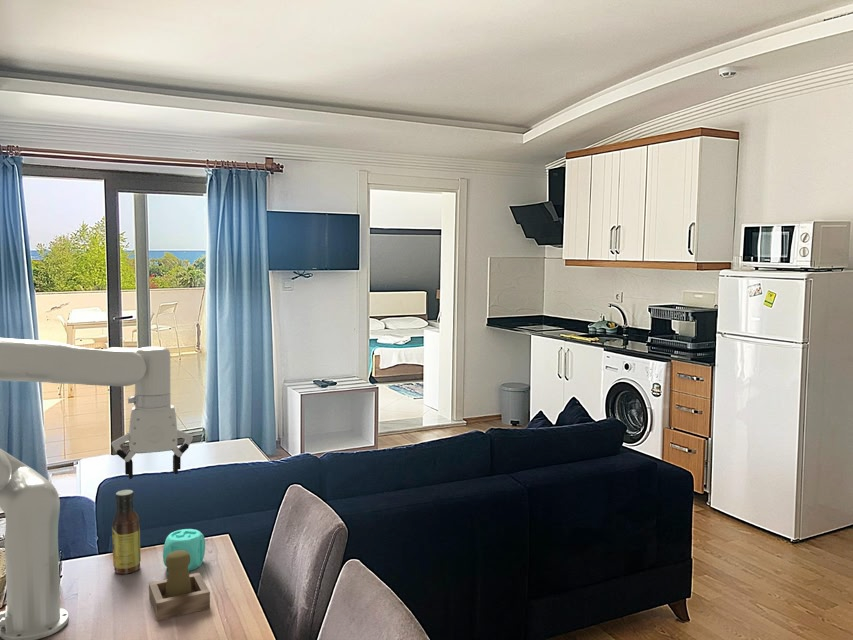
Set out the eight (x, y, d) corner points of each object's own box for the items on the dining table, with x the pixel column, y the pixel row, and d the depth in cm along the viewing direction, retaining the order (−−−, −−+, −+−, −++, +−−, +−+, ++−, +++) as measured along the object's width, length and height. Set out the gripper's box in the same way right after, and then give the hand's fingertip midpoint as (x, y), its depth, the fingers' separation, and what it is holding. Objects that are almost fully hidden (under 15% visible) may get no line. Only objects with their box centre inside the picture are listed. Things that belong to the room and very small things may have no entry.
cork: (183, 608, 151) (182, 559, 150) (158, 605, 152) (157, 556, 151) (198, 595, 157) (197, 548, 156) (173, 592, 158) (173, 545, 157)
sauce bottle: (121, 564, 175) (119, 486, 173) (145, 564, 175) (143, 487, 173) (108, 575, 168) (105, 495, 167) (133, 576, 168) (131, 496, 167)
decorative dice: (195, 572, 170) (195, 541, 170) (162, 572, 170) (162, 540, 170) (205, 559, 178) (205, 528, 178) (174, 558, 178) (174, 528, 178)
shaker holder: (156, 620, 147) (156, 603, 147) (149, 599, 157) (148, 582, 156) (210, 608, 153) (209, 591, 152) (199, 588, 162) (199, 572, 162)
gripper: (112, 406, 151) (112, 484, 152) (195, 401, 159) (195, 475, 160) (110, 400, 157) (111, 475, 159) (190, 396, 165) (190, 466, 166)
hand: (153, 475), depth 159 cm, fingers open, 9 cm apart
